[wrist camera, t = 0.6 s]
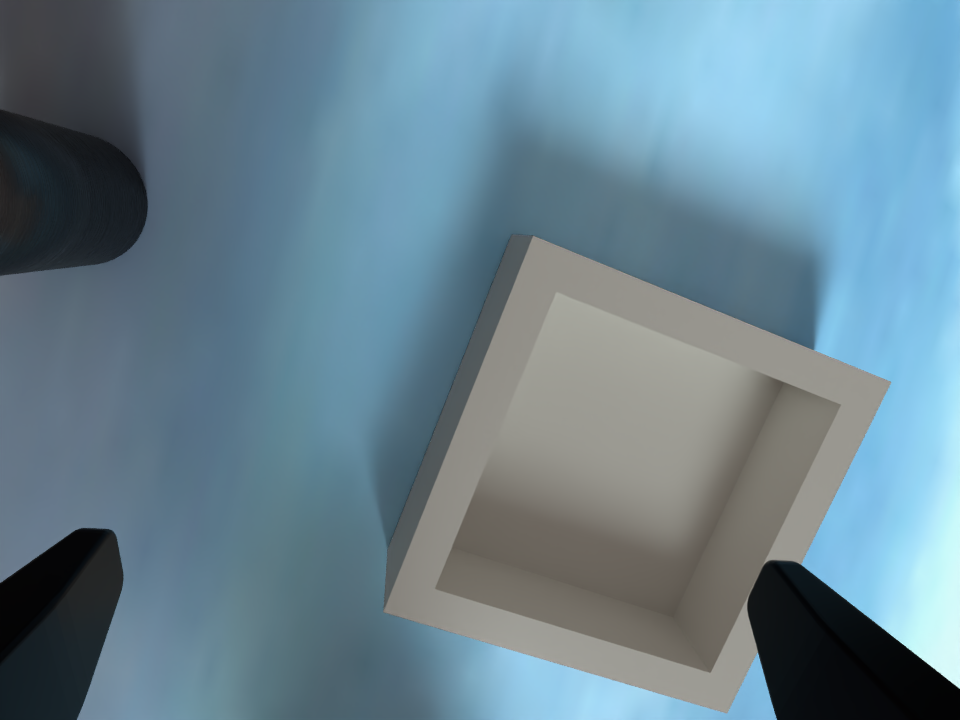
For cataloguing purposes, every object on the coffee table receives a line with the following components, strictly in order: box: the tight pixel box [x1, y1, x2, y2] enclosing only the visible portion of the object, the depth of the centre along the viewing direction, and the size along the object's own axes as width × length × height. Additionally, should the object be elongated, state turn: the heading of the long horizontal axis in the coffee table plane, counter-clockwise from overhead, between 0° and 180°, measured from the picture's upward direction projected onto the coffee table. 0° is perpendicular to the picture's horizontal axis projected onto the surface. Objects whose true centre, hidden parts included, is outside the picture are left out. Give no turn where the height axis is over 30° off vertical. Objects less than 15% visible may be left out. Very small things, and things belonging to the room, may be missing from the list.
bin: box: [383, 234, 891, 713], centre depth 22 cm, size 12×12×4 cm
